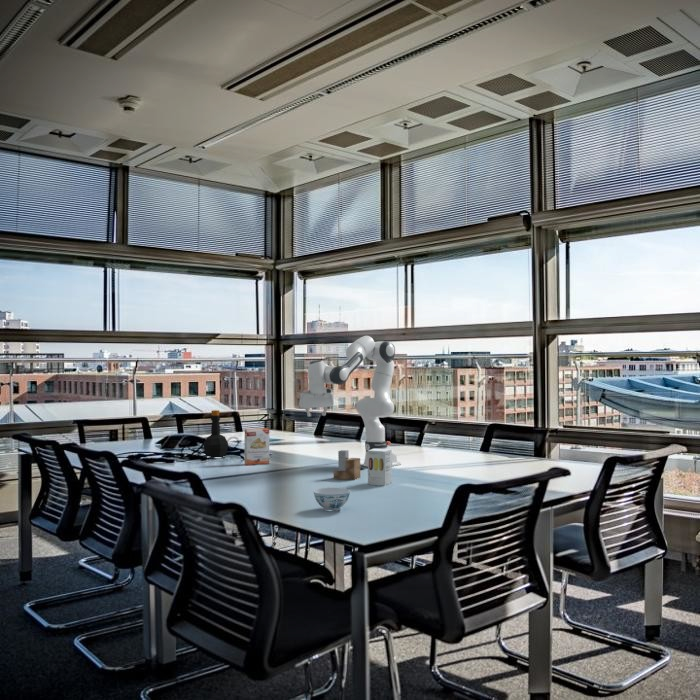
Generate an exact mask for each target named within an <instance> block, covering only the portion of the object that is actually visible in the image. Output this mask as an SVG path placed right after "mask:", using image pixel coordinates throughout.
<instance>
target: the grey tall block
mask: <svg viewBox="0 0 700 700" xmlns="http://www.w3.org/2000/svg"><path fill="white" fill-rule="evenodd" d="M337 454H338V455H337V456H338V461H337V462H338V470H339V472H345V460H346V459H349V457H350V456H349V454H350V453H349V450H348V449H347V450H344V449H341V450H338V452H337Z"/></svg>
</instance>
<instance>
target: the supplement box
mask: <svg viewBox="0 0 700 700" xmlns="http://www.w3.org/2000/svg"><path fill="white" fill-rule="evenodd" d="M392 451H393V450H392V449H390V448H389V449H376V448H375V449H371V450H368V467H367V485H368V484H372V485H371V486H380V485H384V486H383V487H386V486H388V485H390V484H392V483H393V475H392V469H393V466H392ZM385 485H386V486H385Z"/></svg>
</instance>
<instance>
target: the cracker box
mask: <svg viewBox="0 0 700 700" xmlns="http://www.w3.org/2000/svg"><path fill="white" fill-rule="evenodd" d="M253 464H260V465H270V428H246V429H244V465H246V466H254V465H253Z"/></svg>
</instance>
